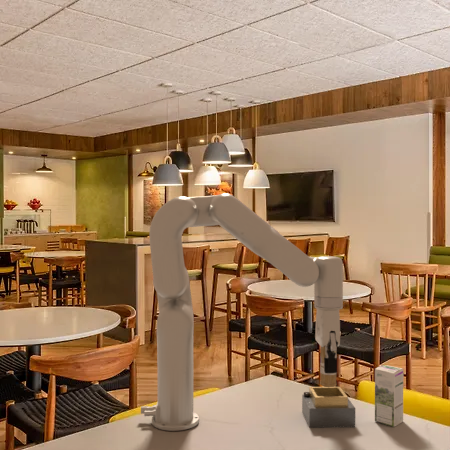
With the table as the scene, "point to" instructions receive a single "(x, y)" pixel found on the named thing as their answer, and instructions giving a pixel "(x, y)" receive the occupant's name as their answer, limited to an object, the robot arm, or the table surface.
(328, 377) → the sprinkles bottle
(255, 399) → the table surface
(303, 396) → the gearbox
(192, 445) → the table surface
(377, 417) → the syrup box
